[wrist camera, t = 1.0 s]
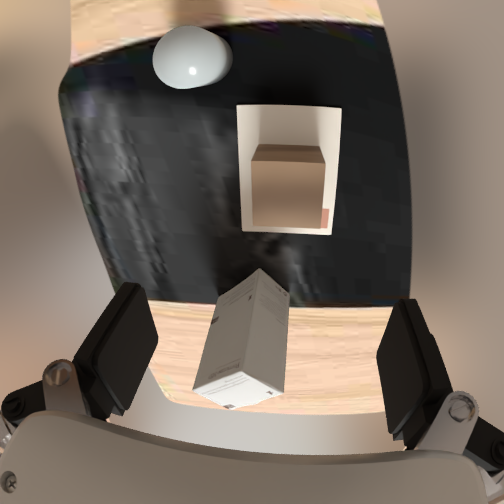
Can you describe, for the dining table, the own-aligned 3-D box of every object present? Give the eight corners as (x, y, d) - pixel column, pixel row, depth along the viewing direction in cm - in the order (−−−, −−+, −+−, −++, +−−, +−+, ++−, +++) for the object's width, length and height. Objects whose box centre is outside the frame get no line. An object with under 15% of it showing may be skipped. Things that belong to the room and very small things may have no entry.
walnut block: (258, 144, 29) (251, 160, 24) (319, 146, 28) (325, 163, 23) (259, 198, 32) (252, 226, 27) (316, 201, 31) (320, 228, 26)
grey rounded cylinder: (176, 37, 23) (151, 31, 18) (232, 31, 23) (217, 21, 18) (179, 87, 26) (155, 92, 21) (233, 83, 26) (220, 85, 21)
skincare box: (259, 265, 37) (242, 367, 25) (292, 294, 39) (287, 394, 27) (216, 298, 41) (187, 391, 29) (247, 322, 43) (230, 414, 31)
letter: (237, 105, 27) (236, 105, 27) (341, 108, 26) (341, 108, 26) (242, 230, 35) (242, 231, 34) (330, 233, 33) (330, 234, 33)
